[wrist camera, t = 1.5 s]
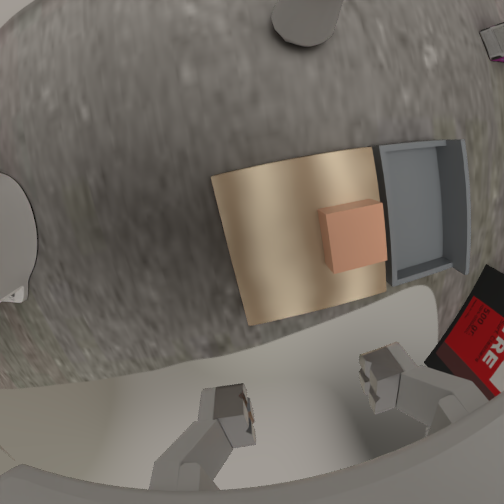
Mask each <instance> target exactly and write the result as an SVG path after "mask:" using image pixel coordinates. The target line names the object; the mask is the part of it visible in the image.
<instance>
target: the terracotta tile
mask: <svg viewBox="0 0 504 504" xmlns="http://www.w3.org/2000/svg"><path fill="white" fill-rule="evenodd" d="M317 211H318V217H319V223H320V229H321V236H322V242H323V249H324V256H325V263H326V265H327V266H328V267H329V269H330V270H331V271H332V272H333V274H337V273H341V272H345V271H349V270H352V269H356V268H360V267H364V266H368V265H372V264H375V263H379V262H383V261H386V260H387V246H386V233H385V221H384V211H383V203H382V202H379V201H376V200H373V199H365V200H360V201H355V202H350V203H345V204H340V205H335V206H330V207H325V208H321V209H317Z"/></svg>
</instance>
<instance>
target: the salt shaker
mask: <svg viewBox="0 0 504 504" xmlns="http://www.w3.org/2000/svg"><path fill="white" fill-rule="evenodd" d="M342 3H343V0H279V1H278V2H277V3H276V5H275V6H274V9H273V12H272V15H271V19H272V23H273V26H274V29H275V30H276V31H277V32H278V33H279V34H280V35H281V36H282V38H283V39H284V40H285V42H289V43H293V44H296V45H300V46H303V47H311V46H314V45H317V44H321V43H323V42H325V41H326V40H327V39H328V38H329V37H330V36H332V35H333V33H334V30H335V26H336V23H337V20H338V16H339V13H340V10H341V6H342Z"/></svg>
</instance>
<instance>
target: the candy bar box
mask: <svg viewBox="0 0 504 504" xmlns="http://www.w3.org/2000/svg"><path fill="white" fill-rule="evenodd" d="M479 33H480V35H481V38H482V40H483V43H484V45H485V47H486V50H487V53H488V55H489V58H490V60H491V61H498V62H504V22H503V23H500V24H497V25H494V26H492V27H489V28H486V29H484V30H481V31H479Z"/></svg>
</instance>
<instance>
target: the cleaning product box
mask: <svg viewBox="0 0 504 504" xmlns="http://www.w3.org/2000/svg"><path fill="white" fill-rule="evenodd" d="M424 363H425V364H426V365H427V367H429V368H432V369H435V370H438V371H441V372H444V373H447V374H450V375H453V376H457V377H460V378H463V379H466V380H470V381H472V382H473V383H474V384H475V385H476V386H477V387H478V389H479V390H480V391H481V392H482V393H483V394H484V396H485V397H486V398H487V399H488V400H489V401H490V400H491V399H493V398H494V397H496V396H497V395H498V394H500V393H501V392H503V391H504V274H503V273H501V272H499V271H497V270H496V269H494V268H492V267H490V266H488V265H487V264H486V266H485V267H484V269H483V271H482V273H481V275H480V277H479V279H478V281H477V283H476V284H475V286H474V288H473V290H472V291H471V293H470V295H469V297H468V298H467V300H466V302H465V303H464V305H463V307H462V308H461V310H460V311H459V313H458V315H457V316H456V318H455V319H454V321H453V322H452V324H451V325H450V327H449V328H448V330H447V331H446V333H445V334H444V336H443V337H442V338H441V340H440V341H439V343H438V344H437V345H436V347H435V348H434V350H433V351H432V352H431V354H430V355H429V356H428V357H427V359H426V360H425V361H424Z"/></svg>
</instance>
